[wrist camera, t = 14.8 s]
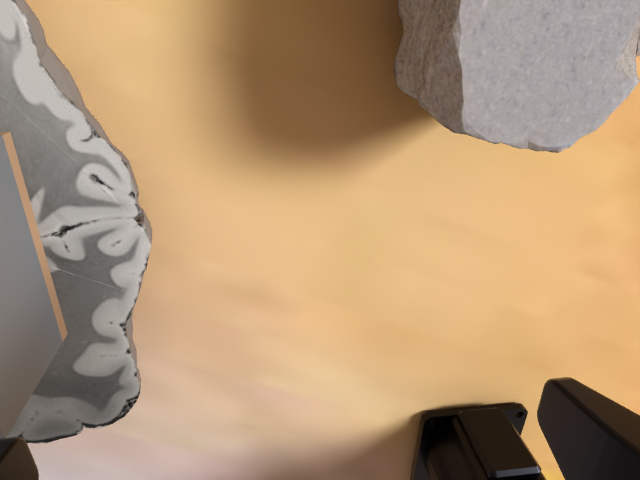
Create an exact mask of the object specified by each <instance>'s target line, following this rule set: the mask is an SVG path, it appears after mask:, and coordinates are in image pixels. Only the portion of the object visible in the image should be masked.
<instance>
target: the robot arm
mask: <svg viewBox="0 0 640 480" xmlns="http://www.w3.org/2000/svg"><path fill="white" fill-rule="evenodd" d="M527 413H528V411H527V410H526V408H525V407H524V406H523V404H519V403H517V404H506V405H495V406H485V407H474V408H463V409H452V410H441V411H431V412H427V413H425V414H424V415H423V416H422V418H421V423H420V429H419V435H418V440H417V446H416V451H415V457H414V463H413V468H412V474H411V479H410V480H546V478H545V477H544V475H543V474H542V472H541V467H540V466H539V464H538V463H537V461H536V460H535V458H534V456H533V455H532V453H531V452H530V450H529V449H528V447H527V446H526V444H525V443H524V441H523V440H522V438H521V437H520V435H521V432H522V429H523V426H524V423H525V420H526V417H527ZM537 418H538V422H539V425H540V428H541V430H542V432H543V434H544V436H545V438H546V440H547V442H548V444H549V447H550V449H551V451H552V453H553V455H554V457H555V459H556V461H557V463H558V466H559V468H560V470H561V472H562V474H563V476H564V478H565V480H640V415H638V414H636V413H634V412H632V411H631V410H629V409H627V408H625V407H623V406H622V405H620V404H618V403H616V402H614V401H613V400H611V399H609V398H607V397H605V396H604V395H602V394H600V393H598V392H596V391H595V390H593V389H591V388H589V387H587V386H586V385H584V384H582V383H580V382H578V381H576V380H575V379H572V378H568V377H564V378H555V379H549V380H548V381H547V382H546V383H545V385H544V388H543V392H542V395H541V399H540V403H539V406H538V411H537ZM0 480H39V474H38V469H37V466H36V464H35V461H34V459H33V457H32V454H31V452H30V449H29V447H28V445H27V442H26V441H25V439H23V438H22V437H10V438H1V439H0Z"/></svg>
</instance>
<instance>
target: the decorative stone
mask: <svg viewBox="0 0 640 480" xmlns="http://www.w3.org/2000/svg"><path fill="white" fill-rule="evenodd" d="M398 10H399V16H400V19H401V22H402V26H403V29H404V32H403V36H402V39H401V42H400V45H399V48H398V51H397V54H396V58H395V62H394V72H395V79H396V83H397V85H398V88H399V89H400V90H401V91H403V92H404V93H406V94H407V95H409V96H410V97H413V98H415V99H417V100H418V104H419V106H420V107H421V108H423V109H424V110H426V111H427V112H428V113H429V114H430V115H431V116H433V117H434V118H435V119H436V120H437V121H438V122H439V123H441V124H442V125H443V126H444V127H446V128H447V129H449V130H450V131H452V132H454V133H459V134H466V135H469V136H472V137H475V138H478V139H482V140H485V141H488V142H490V143H494V144H498V143H504V144H506V145H509V146H512V147H516V148H519V149H527V148H528V149H531V150H534V151H549V152H556V153H559V152H561V151H562V150H564V149H566V148H569V147H571V146H572V145H573V144H574V143H575V142H576V141H577V140H579V139H580V138H581V137H583V136H585V135H587V134H589V133H591V132H593V131H595V130H597V129H598V128H599V127H600V126H601V125H602V124H603V123H604V122H605V121H606V120H607V118H608V117H609V116H610V114H611V113H612V112H613V111H614V110H615V109H616V108H617V107H618V106H619V105H620V104H621V103H622V102H623V101H624V100H625V99H626V98H627V97H628V96H629V95H630V93H631V92H632V91H633V89H634V88H635V87H636V85H637V84H638V83H639V79H638V75H637V70H636V57H637V56H639V55H640V0H398Z"/></svg>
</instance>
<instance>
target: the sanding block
mask: <svg viewBox="0 0 640 480" xmlns="http://www.w3.org/2000/svg"><path fill="white" fill-rule="evenodd" d="M67 334H68V333H67V330H66V326H65V323H64V319H63V316H62V312H61V309H60V305H59V301H58V298H57V294H56V291H55V287H54V284H53V280H52V277H51V273H50V270H49V266H48V263H47V259H46V256H45V252H44V249H43V245H42V242H41V238H40V234H39V231H38V227H37V224H36V220H35V217H34V213H33V210H32V206H31V203H30V199H29V196H28V192H27V189H26V185H25V182H24V178H23V175H22V171H21V167H20V164H19V160H18V157H17V153H16V150H15V146H14V143H13V139H12V136H11V132H0V439H1V438H6V437H7V436H8V434H9V432H10V430H11V429H12V427H13V425H14V424H15V422H16V420H17V419H18V417H19V415H20V414H21V412H22V410H23V409H24V407H25V405H26V403H27V402H28V400H29V398H30V397H31V395H32V393H33V392H34V390H35V388H36V387H37V385H38V383H39V382H40V380H41V378H42V377H43V375H44V373H45V371H46V370H47V368H48V366H49V365H50V363H51V361H52V360H53V358H54V356H55V355H56V353H57V351H58V350H59V348H60V346H61V344H62V343H63V341H64V339H65V338H66V336H67Z"/></svg>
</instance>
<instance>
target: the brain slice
mask: <svg viewBox="0 0 640 480" xmlns="http://www.w3.org/2000/svg"><path fill="white" fill-rule="evenodd" d="M0 132H11V136H12V139H13V143H14V146H15V150H16V153H17V157H18V160H19V164H20V167H21V171H22V175H23V178H24V182H25V185H26V189H27V192H28V196H29V199H30V203H31V206H32V210H33V213H34V217H35V220H36V224H37V227H38V231H39V234H40V238H41V242H42V245H43V249H44V252H45V256H46V259H47V263H48V266H49V270H50V273H51V277H52V280H53V284H54V287H55V291H56V294H57V298H58V301H59V305H60V309H61V312H62V316H63V319H64V323H65V326H66V330H67V333H68V334H67V336H66V338H65V339H64V341H63V343H62V344H61V346H60V348H59V350H58V351H57V353H56V355H55V356H54V358H53V360H52V361H51V363H50V365H49V366H48V368H47V370H46V371H45V373H44V375H43V377H42V378H41V380H40V382H39V383H38V385H37V387H36V388H35V390H34V392H33V393H32V395H31V397H30V398H29V400H28V402H27V403H26V405H25V407H24V409H23V410H22V412H21V414H20V415H19V417H18V419H17V420H16V422H15V424H14V425H13V427H12V429H11V430H10V432H9V434H8V436H7V437H6V438H10V437H22V438H23V439H25V441H26V442H27V443H48V442H51V441H55V440H58V439H62V438H66V437H71V436H75V435H77V434H79V433H81V431H82V430H83V427H84V428H102V427H105V426H107V425H110V424H113V423H114V422H116V421H118V420H119V419H121V418H123V417H124V416H125V415H126V414H127V413H128V412H129V410H130V409H131V408H132V407H133V405H134V404H135V403H136V401H137V399H138V397H139V394H140V385H141V378H140V374H139V370H138V368H137V356H136V349H135V345H134V342H133V339H132V328H133V326H132V311H133V308H134V305H135V303H136V300H137V297H138V294H139V290H140V287H141V283H142V278H143V274H144V271H145V270H146V267H147V262H148V257H149V252H150V248H151V242H152V228H151V225H150V222H149V220H148V218H147V216H146V214H145V212H144V210H143V209H142V208H141V207H140V206H139V203H138V194H139V192H138V186H137V183H136V180H135V177H134V174H133V172H132V169H131V166H130V163H129V160H128V159H127V158H126V157H125V155H124V154H123V153H122V152H121V151H120V150H119V149H117V148H116V147H115V146H114V145H112V143H111V142H110V140H109V138H108V137H107V135H106V133H105V132H104V130H103V128H102V127H101V125H100V124H99V122H98V121H97V120H96V119H95V118H94V116H93V115H92V114H91V113H90V112H89V111H88V109H87V108H86V107H85V104H84V102H83V99H82V96H81V94H80V92H79V90H78V88H77V86H76V84H75V82H74V80H73V78H72V76H71V74H70V72H69V71H68V70H67V68H66V67H65V66H64V65H63V63H62V62H61V61H60V60H59V58H58V57H57V56H56V55H55V53H54V52H53V51H52V50H51V48H50V47H49V46H48V45H47V43H46V39H45V35H44V30H43V28H42V26H41V24H40V22H39V20H38V18H37V17H36V15H35V14H34V12H33V11H32V10H31V8H30V7H29V5H28V4H27V3H26V1H25V0H0Z"/></svg>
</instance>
